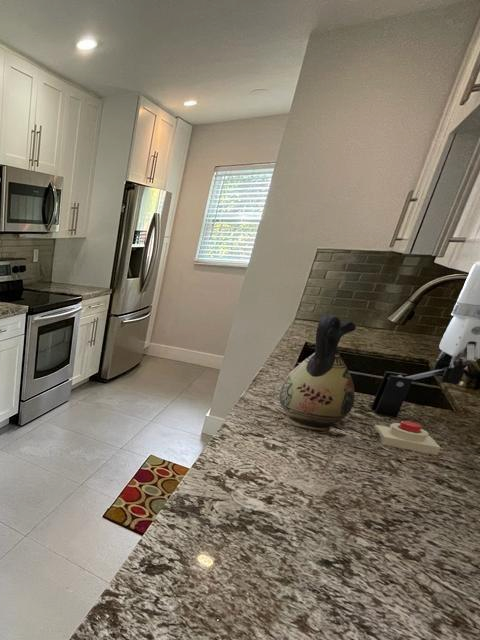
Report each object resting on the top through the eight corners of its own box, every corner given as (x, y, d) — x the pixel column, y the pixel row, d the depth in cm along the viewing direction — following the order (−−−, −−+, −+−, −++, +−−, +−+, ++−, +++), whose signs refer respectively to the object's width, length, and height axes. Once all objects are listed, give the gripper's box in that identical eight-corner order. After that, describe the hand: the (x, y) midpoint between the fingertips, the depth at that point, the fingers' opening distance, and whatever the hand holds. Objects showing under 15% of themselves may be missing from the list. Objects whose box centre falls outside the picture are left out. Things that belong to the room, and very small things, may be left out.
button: (416, 429, 102) (418, 422, 102) (421, 434, 99) (424, 428, 99) (396, 425, 104) (399, 419, 103) (401, 431, 101) (404, 424, 100)
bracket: (403, 415, 119) (422, 374, 114) (416, 428, 111) (436, 384, 106) (350, 406, 124) (365, 366, 120) (358, 418, 116) (375, 376, 112)
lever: (449, 370, 109) (446, 362, 109) (458, 376, 105) (455, 367, 105) (387, 383, 117) (385, 376, 116) (394, 389, 112) (391, 381, 112)
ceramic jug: (291, 408, 122) (324, 308, 112) (354, 430, 109) (398, 319, 98) (256, 417, 116) (287, 312, 105) (318, 442, 103) (361, 325, 92)
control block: (424, 441, 104) (430, 427, 102) (437, 455, 97) (444, 440, 96) (372, 431, 109) (377, 418, 107) (381, 444, 102) (387, 430, 101)
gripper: (517, 319, 93) (480, 392, 100) (480, 308, 107) (449, 372, 114) (470, 315, 97) (437, 386, 103) (440, 304, 111) (412, 368, 117)
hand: (444, 378), depth 108 cm, fingers closed on lever, 5 cm apart
